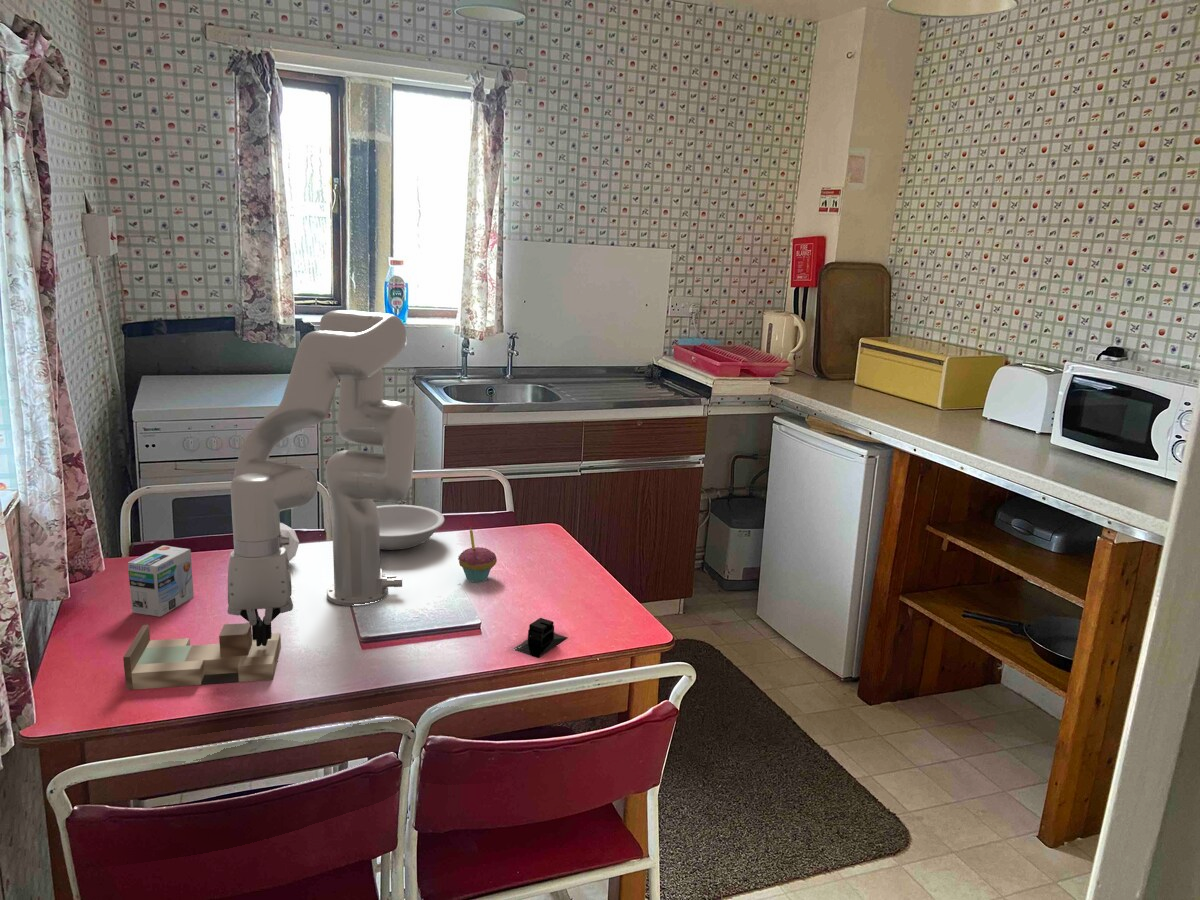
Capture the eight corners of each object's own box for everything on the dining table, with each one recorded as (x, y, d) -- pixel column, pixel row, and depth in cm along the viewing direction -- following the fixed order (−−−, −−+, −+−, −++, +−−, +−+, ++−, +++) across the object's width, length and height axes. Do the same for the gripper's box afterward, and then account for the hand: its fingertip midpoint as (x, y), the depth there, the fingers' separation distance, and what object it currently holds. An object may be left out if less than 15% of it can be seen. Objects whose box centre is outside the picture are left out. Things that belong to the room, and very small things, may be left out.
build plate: (537, 665, 160) (538, 641, 159) (503, 653, 164) (503, 630, 163) (575, 638, 171) (576, 615, 170) (542, 628, 175) (543, 606, 174)
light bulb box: (160, 618, 171) (156, 566, 168) (130, 613, 172) (125, 562, 169) (195, 596, 181) (192, 547, 178) (167, 592, 182) (162, 544, 180)
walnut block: (252, 643, 156) (251, 623, 155) (248, 655, 152) (246, 634, 151) (225, 645, 155) (224, 624, 154) (220, 656, 151) (219, 635, 150)
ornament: (252, 574, 193) (252, 554, 206) (301, 569, 196) (298, 550, 210) (249, 531, 191) (249, 514, 204) (299, 527, 194) (296, 511, 208)
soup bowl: (417, 522, 232) (416, 499, 230) (462, 550, 214) (462, 524, 212) (329, 538, 217) (328, 513, 215) (370, 569, 199) (369, 542, 197)
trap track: (281, 647, 161) (279, 617, 160) (272, 679, 150) (271, 647, 148) (145, 656, 156) (142, 625, 154) (126, 690, 144) (123, 657, 143)
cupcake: (451, 581, 195) (451, 530, 192) (470, 568, 202) (471, 519, 199) (484, 588, 192) (485, 537, 189) (503, 575, 199) (504, 525, 196)
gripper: (304, 535, 155) (308, 630, 159) (214, 539, 151) (220, 636, 155) (301, 550, 148) (305, 649, 152) (206, 554, 144) (213, 655, 148)
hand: (262, 642), depth 154 cm, fingers closed
